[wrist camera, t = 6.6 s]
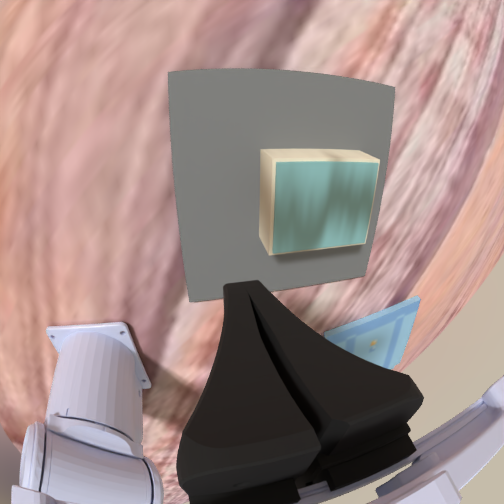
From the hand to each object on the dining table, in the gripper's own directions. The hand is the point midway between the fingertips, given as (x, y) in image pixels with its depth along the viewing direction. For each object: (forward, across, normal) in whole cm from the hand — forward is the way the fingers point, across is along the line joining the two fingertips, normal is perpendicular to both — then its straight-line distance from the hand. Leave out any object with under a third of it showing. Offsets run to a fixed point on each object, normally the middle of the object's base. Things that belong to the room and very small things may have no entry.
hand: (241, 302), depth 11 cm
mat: (+9, -5, -1) cm, 11 cm away
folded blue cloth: (+10, -17, +19) cm, 28 cm away
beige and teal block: (+8, -3, -1) cm, 8 cm away
